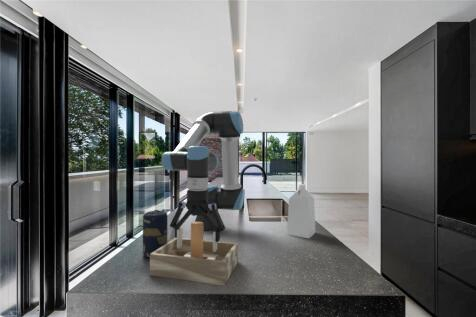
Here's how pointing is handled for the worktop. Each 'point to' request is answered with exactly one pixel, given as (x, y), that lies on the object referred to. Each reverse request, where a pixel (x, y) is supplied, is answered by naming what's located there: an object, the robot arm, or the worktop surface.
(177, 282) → the worktop surface
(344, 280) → the worktop surface
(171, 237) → the flask
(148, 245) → the canister
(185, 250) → the open box
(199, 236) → the peg
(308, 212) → the milk
